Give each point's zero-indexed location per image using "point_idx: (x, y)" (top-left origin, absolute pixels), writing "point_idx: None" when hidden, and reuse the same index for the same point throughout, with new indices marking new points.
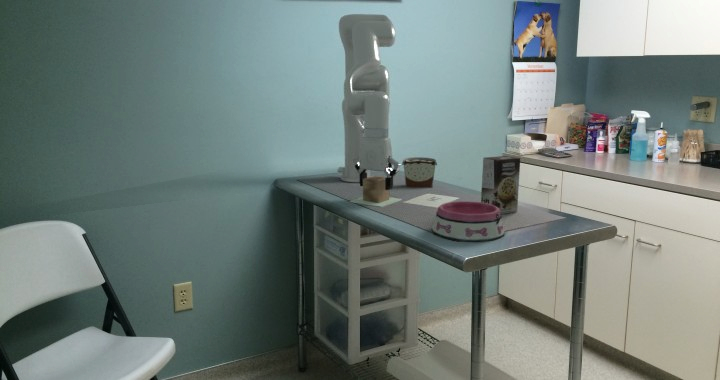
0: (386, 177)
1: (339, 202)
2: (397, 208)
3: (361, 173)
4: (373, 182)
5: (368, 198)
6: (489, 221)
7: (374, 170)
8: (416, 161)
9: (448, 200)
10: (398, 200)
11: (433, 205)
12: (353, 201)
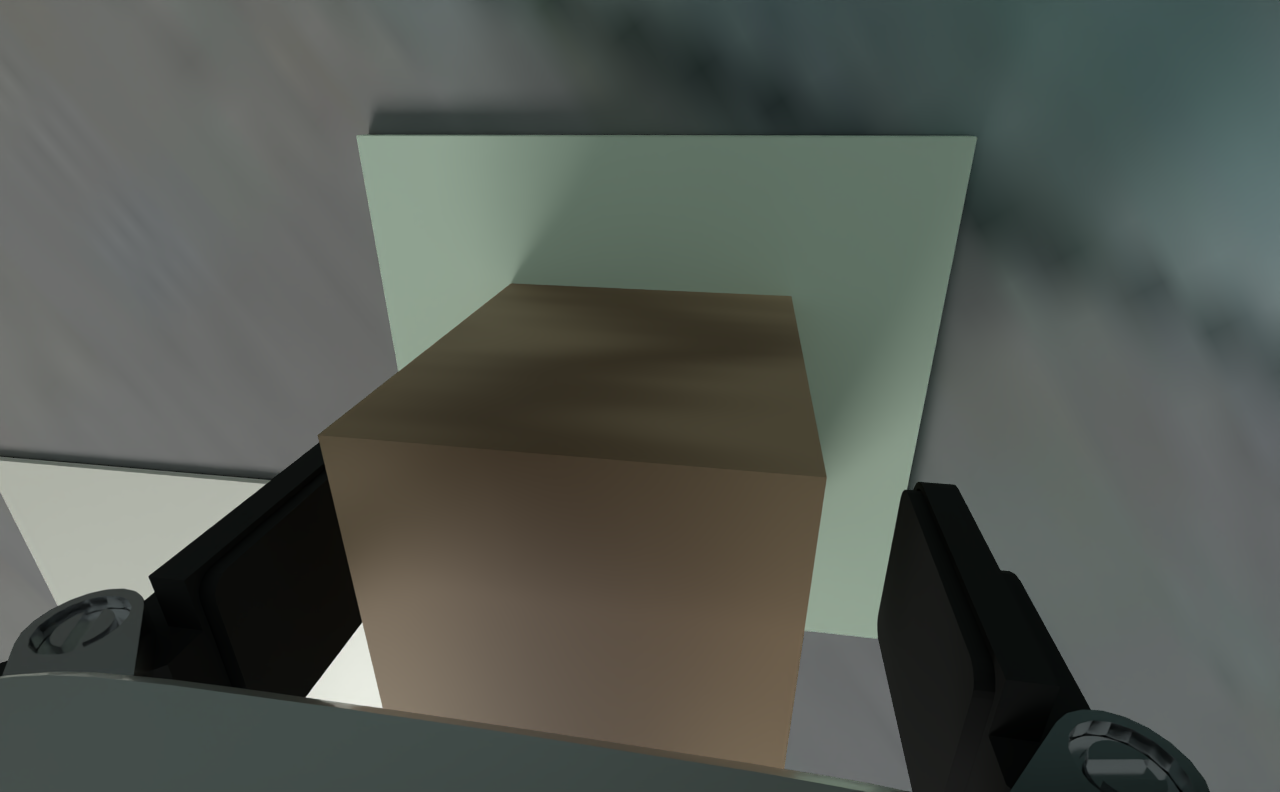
0: (186, 601)
1: (1165, 26)
2: (208, 227)
3: (1034, 748)
4: (496, 424)
5: (681, 303)
6: None
7: (340, 703)
8: None
9: None
10: None
11: (63, 513)
12: (904, 160)
